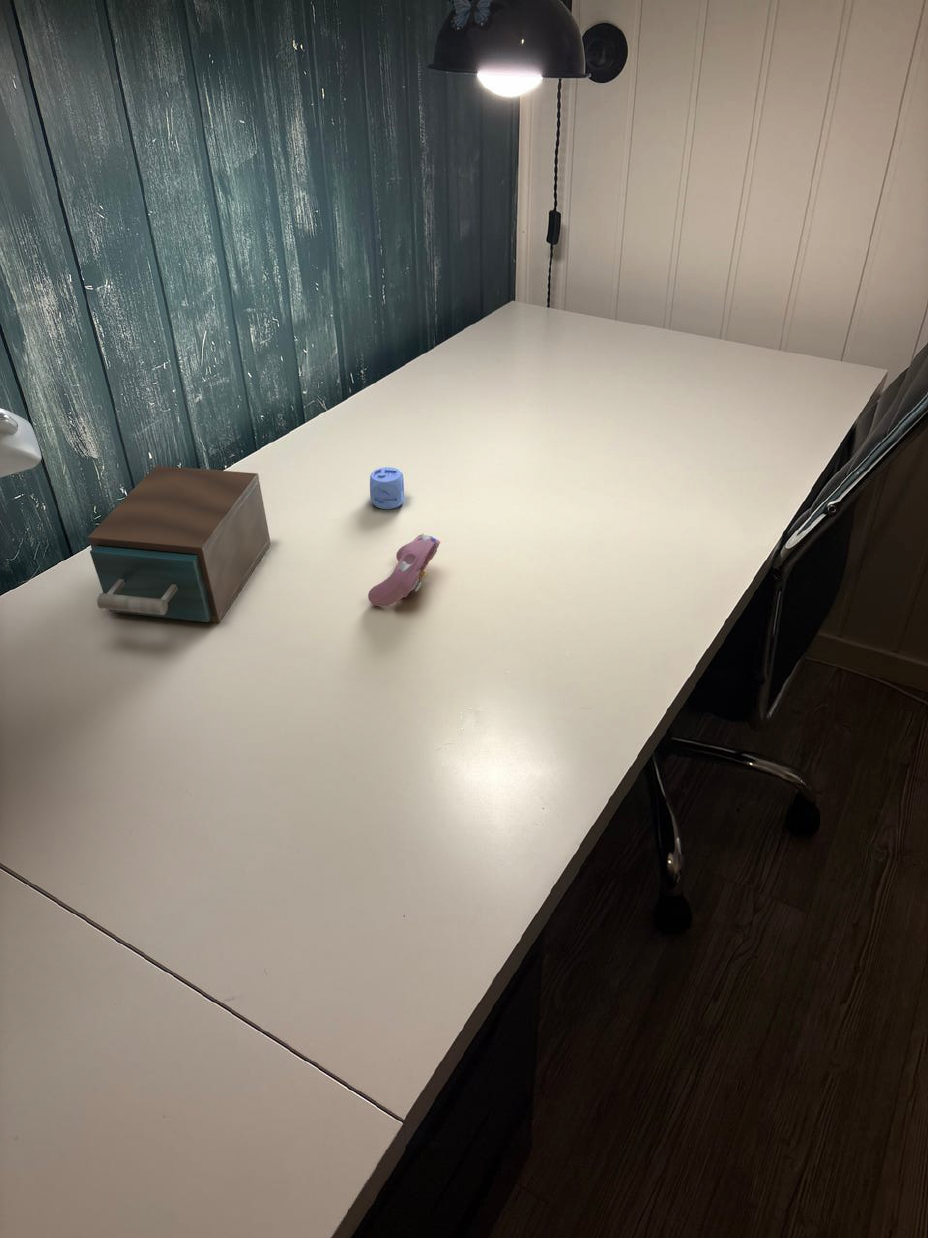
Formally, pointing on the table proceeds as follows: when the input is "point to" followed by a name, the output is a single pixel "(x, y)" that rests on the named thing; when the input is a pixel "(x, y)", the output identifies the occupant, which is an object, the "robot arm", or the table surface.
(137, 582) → the drawer
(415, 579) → the video game controller
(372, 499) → the decorative dice
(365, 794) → the table surface
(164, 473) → the cabinet
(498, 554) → the table surface
